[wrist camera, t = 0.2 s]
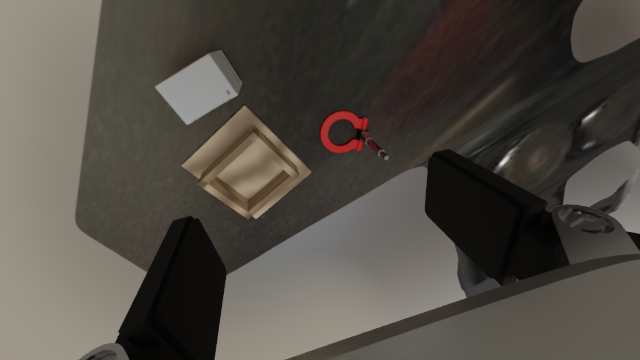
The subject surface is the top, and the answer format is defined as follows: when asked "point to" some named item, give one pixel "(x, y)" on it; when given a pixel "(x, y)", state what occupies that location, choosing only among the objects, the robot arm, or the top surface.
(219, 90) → the small box
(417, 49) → the top surface
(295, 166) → the well
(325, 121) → the tow hook
